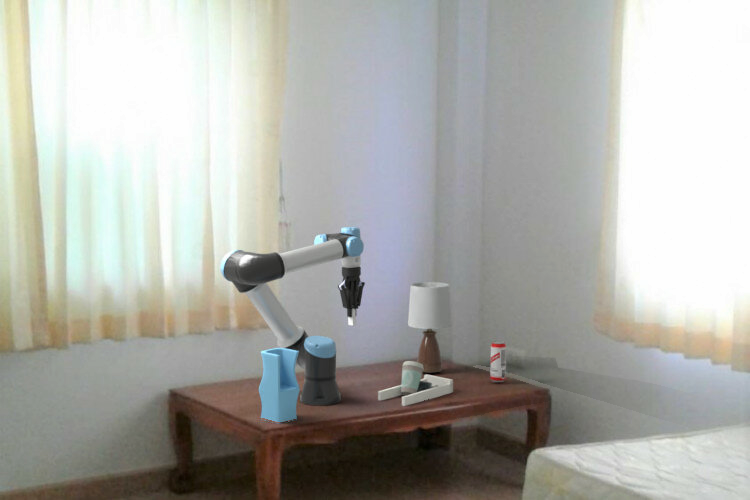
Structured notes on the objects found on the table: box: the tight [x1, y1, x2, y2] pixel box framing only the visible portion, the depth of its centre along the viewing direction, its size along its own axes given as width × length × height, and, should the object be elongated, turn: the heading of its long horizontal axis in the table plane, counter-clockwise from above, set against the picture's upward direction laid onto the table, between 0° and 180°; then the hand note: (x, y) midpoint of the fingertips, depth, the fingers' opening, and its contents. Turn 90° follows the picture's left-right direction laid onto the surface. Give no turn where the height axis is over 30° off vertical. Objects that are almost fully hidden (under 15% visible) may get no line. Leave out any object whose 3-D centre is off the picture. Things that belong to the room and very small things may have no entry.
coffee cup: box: [400, 360, 424, 396], centre depth 347 cm, size 8×9×12 cm
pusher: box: [417, 381, 438, 392], centre depth 353 cm, size 10×9×5 cm
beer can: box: [489, 340, 507, 383], centre depth 371 cm, size 6×6×16 cm
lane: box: [377, 373, 454, 407], centre depth 347 cm, size 29×13×5 cm, turn 137°
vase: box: [258, 347, 300, 422], centre depth 312 cm, size 10×10×25 cm
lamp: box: [407, 281, 452, 374], centre depth 389 cm, size 19×19×37 cm
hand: (351, 324), depth 362 cm, fingers closed
